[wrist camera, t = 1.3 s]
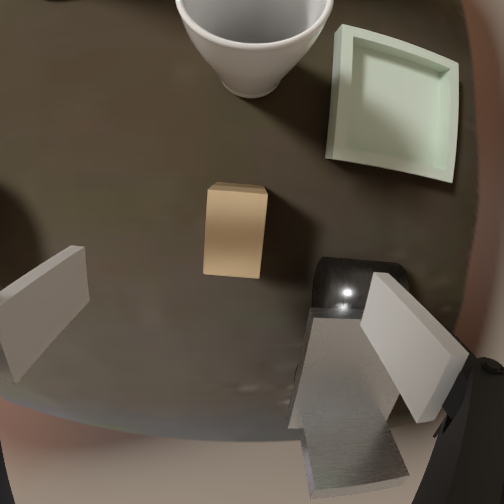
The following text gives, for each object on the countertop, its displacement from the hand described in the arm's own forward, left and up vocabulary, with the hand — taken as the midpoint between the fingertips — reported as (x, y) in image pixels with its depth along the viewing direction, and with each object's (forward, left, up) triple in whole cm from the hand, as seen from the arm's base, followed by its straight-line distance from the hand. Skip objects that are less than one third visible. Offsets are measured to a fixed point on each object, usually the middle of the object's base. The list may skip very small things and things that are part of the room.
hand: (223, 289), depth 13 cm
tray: (-12, +13, -15) cm, 23 cm away
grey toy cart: (+11, +11, -15) cm, 21 cm away
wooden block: (0, 0, -15) cm, 15 cm away
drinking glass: (-13, 0, -15) cm, 20 cm away
